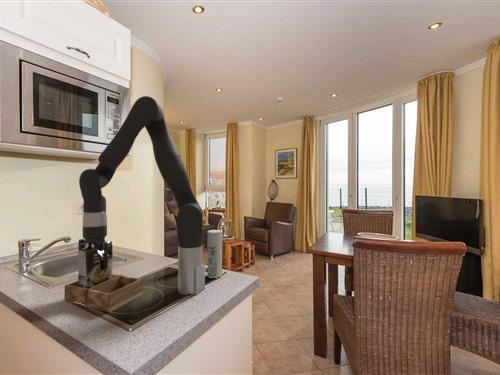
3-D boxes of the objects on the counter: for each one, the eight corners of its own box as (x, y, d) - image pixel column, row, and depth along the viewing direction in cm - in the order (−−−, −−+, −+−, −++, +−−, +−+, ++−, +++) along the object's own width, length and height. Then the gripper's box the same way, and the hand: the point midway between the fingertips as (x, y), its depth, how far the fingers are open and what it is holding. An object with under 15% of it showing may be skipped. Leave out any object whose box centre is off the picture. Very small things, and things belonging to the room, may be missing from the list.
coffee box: (87, 299, 83) (86, 252, 83) (77, 294, 86) (77, 249, 86) (113, 289, 91) (113, 246, 91) (103, 285, 94) (103, 244, 94)
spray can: (204, 276, 107) (204, 231, 107) (215, 272, 112) (215, 229, 112) (214, 280, 103) (214, 233, 103) (225, 275, 108) (225, 231, 108)
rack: (143, 293, 90) (143, 279, 90) (109, 312, 77) (109, 295, 77) (101, 285, 97) (101, 271, 97) (64, 301, 84) (64, 285, 84)
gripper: (118, 223, 89) (118, 267, 90) (90, 221, 94) (90, 263, 94) (99, 227, 82) (100, 274, 82) (70, 224, 87) (71, 269, 87)
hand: (95, 268), depth 88 cm, fingers open, 8 cm apart
